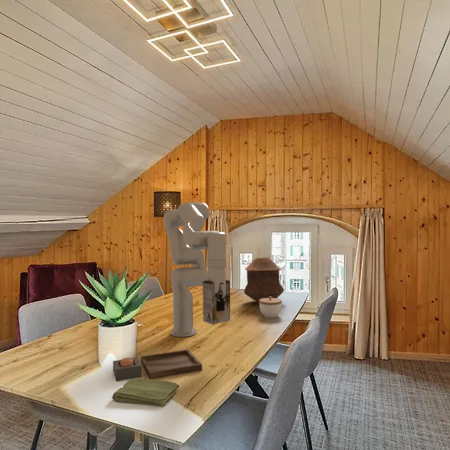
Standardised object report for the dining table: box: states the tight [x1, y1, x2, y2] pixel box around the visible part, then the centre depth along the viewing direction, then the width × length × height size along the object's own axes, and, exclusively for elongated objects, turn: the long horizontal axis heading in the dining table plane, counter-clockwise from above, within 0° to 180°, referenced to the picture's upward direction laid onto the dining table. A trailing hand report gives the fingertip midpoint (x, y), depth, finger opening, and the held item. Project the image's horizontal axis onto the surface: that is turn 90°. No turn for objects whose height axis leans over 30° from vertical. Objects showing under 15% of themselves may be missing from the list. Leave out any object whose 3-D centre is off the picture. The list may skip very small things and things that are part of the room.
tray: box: [140, 349, 203, 380], centre depth 139 cm, size 17×19×2 cm
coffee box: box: [202, 279, 231, 326], centre depth 147 cm, size 9×6×16 cm
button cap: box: [120, 357, 134, 367], centre depth 132 cm, size 4×4×3 cm
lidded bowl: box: [258, 296, 282, 319], centre depth 210 cm, size 13×13×11 cm
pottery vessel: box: [243, 256, 285, 305], centre depth 242 cm, size 26×26×30 cm
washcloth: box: [111, 378, 180, 407], centre depth 117 cm, size 13×18×3 cm
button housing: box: [112, 356, 143, 382], centre depth 132 cm, size 9×9×4 cm
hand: (216, 308), depth 147 cm, fingers closed on coffee box, 7 cm apart
